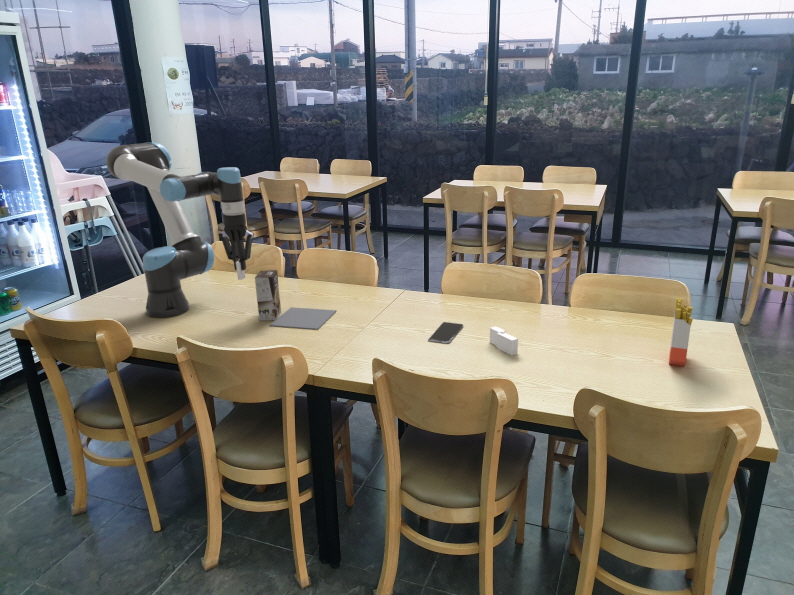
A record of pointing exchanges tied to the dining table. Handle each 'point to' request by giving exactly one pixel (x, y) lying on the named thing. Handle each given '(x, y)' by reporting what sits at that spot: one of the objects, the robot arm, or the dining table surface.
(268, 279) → the coffee box
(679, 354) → the french fries container
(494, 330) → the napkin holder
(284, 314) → the rubber mat
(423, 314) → the dining table surface
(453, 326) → the smartphone
